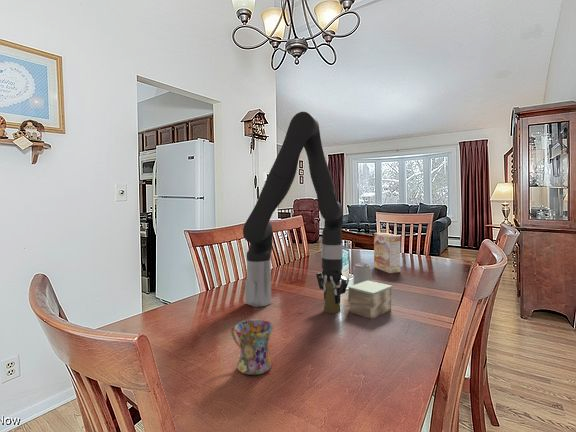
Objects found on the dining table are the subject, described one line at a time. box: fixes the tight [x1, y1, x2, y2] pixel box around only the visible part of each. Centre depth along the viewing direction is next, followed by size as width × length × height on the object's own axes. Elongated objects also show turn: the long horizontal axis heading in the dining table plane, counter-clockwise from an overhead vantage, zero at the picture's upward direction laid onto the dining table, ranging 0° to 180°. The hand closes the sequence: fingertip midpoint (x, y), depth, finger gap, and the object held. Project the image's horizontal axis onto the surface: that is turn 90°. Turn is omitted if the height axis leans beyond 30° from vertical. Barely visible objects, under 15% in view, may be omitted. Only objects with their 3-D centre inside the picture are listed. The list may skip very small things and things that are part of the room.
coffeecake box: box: [373, 232, 402, 274], centre depth 182 cm, size 15×7×20 cm, turn 17°
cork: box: [323, 281, 342, 314], centre depth 122 cm, size 6×6×11 cm
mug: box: [230, 318, 274, 376], centre depth 83 cm, size 12×9×11 cm
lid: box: [348, 280, 393, 295], centre depth 121 cm, size 12×10×1 cm
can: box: [352, 262, 372, 285], centre depth 143 cm, size 8×8×12 cm
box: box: [347, 288, 392, 320], centre depth 121 cm, size 12×10×8 cm
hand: (332, 302), depth 122 cm, fingers closed on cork, 4 cm apart
